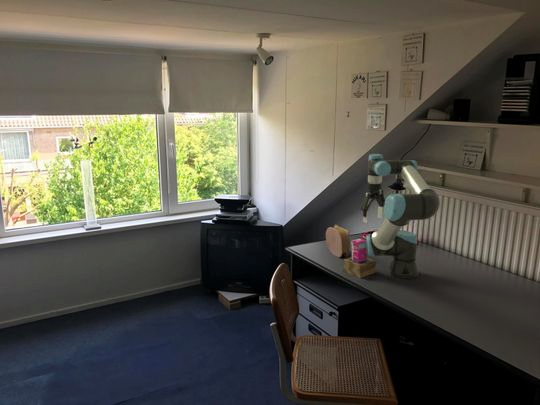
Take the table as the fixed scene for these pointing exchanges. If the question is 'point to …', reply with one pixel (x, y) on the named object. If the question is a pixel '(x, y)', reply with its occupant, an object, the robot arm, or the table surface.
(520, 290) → the table surface
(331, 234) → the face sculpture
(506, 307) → the table surface
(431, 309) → the table surface
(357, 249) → the supplement box
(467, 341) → the table surface
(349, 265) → the frame
